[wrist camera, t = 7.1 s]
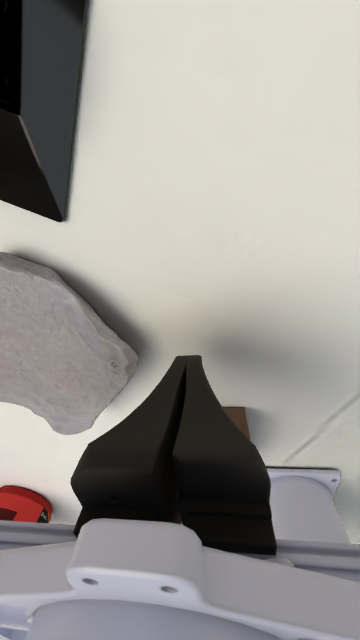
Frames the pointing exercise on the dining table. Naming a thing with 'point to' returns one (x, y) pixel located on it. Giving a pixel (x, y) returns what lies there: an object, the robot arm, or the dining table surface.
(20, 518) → the canned food
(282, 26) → the dining table surface
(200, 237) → the dining table surface
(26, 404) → the stone block
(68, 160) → the build plate
